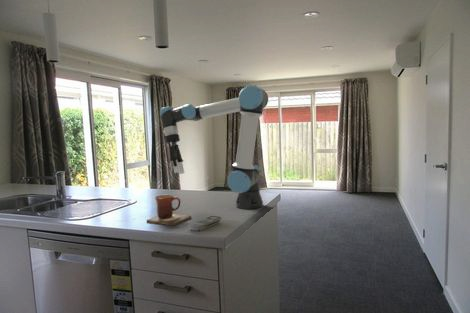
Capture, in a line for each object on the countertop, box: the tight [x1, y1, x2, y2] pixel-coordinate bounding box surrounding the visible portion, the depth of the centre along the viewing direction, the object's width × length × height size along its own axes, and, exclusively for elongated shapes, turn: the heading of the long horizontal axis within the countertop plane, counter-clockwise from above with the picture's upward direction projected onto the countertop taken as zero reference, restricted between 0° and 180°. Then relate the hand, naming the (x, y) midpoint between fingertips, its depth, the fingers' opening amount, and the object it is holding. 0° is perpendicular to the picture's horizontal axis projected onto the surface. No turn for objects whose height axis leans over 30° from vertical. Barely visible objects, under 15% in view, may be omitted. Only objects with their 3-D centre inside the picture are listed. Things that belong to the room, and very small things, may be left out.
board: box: [146, 213, 192, 227], centre depth 161 cm, size 16×14×2 cm
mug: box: [154, 194, 182, 219], centre depth 160 cm, size 12×9×10 cm
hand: (179, 173), depth 179 cm, fingers open, 13 cm apart
